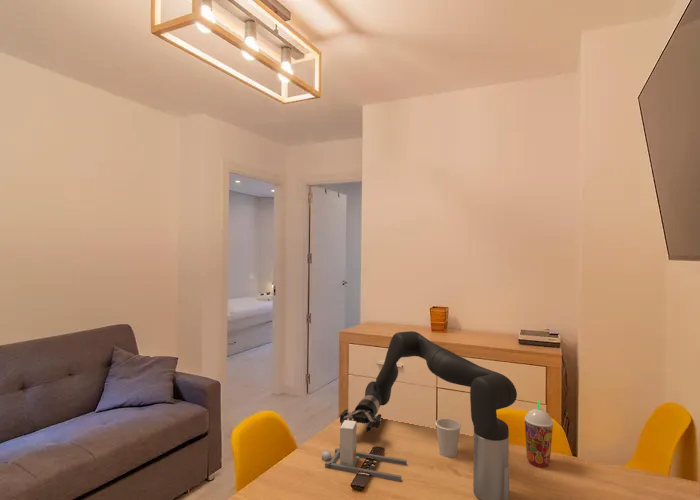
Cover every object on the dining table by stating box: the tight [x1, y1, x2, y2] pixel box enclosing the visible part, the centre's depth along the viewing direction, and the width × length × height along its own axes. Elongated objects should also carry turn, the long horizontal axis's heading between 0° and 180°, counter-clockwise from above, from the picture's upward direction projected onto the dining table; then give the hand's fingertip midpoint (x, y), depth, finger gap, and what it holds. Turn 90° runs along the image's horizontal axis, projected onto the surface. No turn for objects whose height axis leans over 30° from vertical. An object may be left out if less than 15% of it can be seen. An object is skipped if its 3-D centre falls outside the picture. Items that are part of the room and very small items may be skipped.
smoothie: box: [524, 400, 554, 468], centre depth 128 cm, size 8×8×20 cm
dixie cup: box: [435, 417, 462, 459], centre depth 134 cm, size 8×8×10 cm
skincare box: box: [339, 419, 357, 467], centre depth 128 cm, size 6×4×12 cm
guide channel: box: [321, 447, 408, 483], centre depth 127 cm, size 27×10×2 cm, turn 72°
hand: (354, 427), depth 135 cm, fingers open, 8 cm apart
